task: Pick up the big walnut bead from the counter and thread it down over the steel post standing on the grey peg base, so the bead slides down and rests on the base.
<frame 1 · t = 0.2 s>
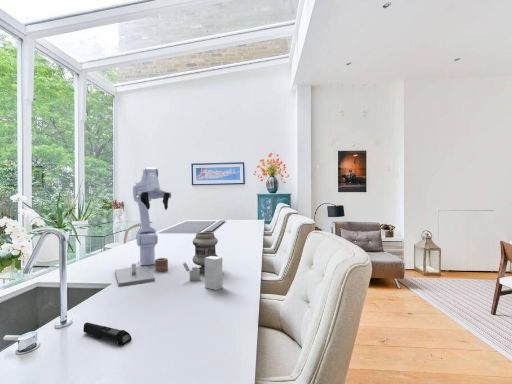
hand: (157, 208, 131), 31 cm above the worktop, tool tilted 45°, fingers open, 7 cm apart
walnut bead: (161, 269, 143), on the worktop
electric trimmer: (106, 339, 79), on the worktop
lighter: (191, 280, 128), on the worktop
skincare box: (213, 288, 118), on the worktop
grey peg base: (133, 276, 133), on the worktop
apothecary jar: (205, 271, 142), on the worktop
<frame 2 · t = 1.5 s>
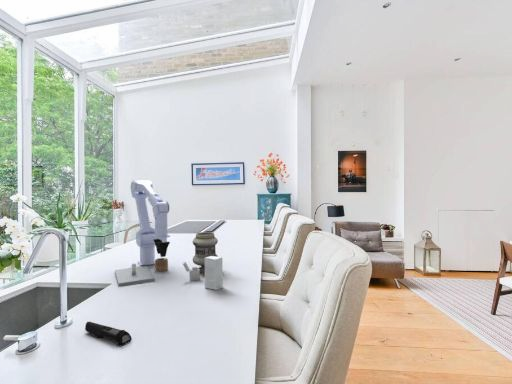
hand: (161, 254, 143), 7 cm above the worktop, tool pointing down, fingers open, 7 cm apart
nothing on the worktop moved.
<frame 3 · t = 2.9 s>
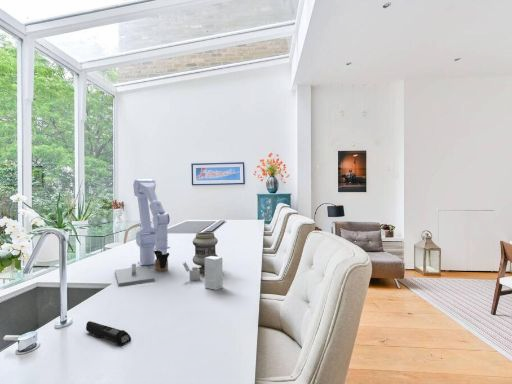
hand: (161, 266, 143), 2 cm above the worktop, tool pointing down, fingers closed on walnut bead, 5 cm apart
walnut bead: (161, 269, 143), on the worktop, touching gripper
everything else where it was.
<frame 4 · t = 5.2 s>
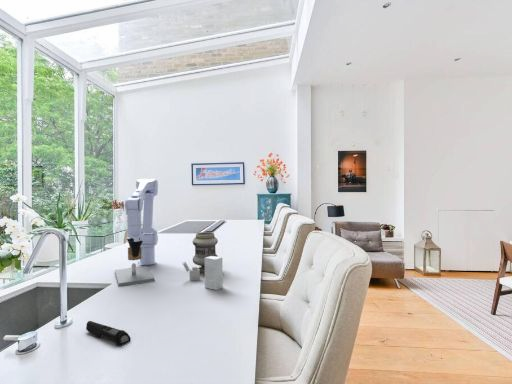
hand: (134, 255, 133), 9 cm above the worktop, tool pointing down, fingers closed on walnut bead, 5 cm apart
walnut bead: (134, 258, 133), point 8 cm above the worktop, touching gripper
everything else where it was.
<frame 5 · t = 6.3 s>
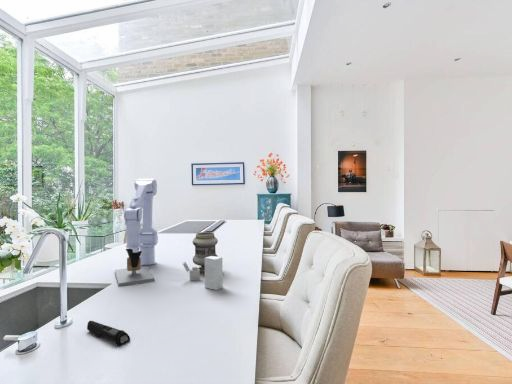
hand: (133, 265, 133), 5 cm above the worktop, tool pointing down, fingers closed on walnut bead, 5 cm apart
walnut bead: (133, 269, 133), point 3 cm above the worktop, touching gripper
everything else where it was.
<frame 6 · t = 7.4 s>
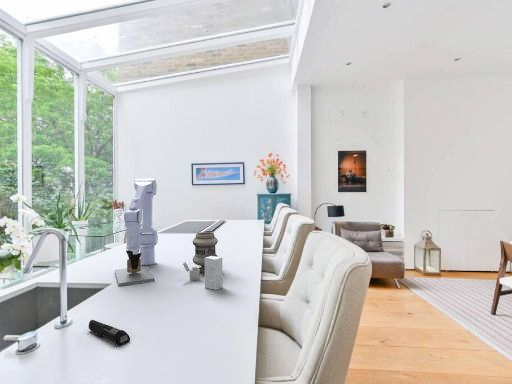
hand: (133, 267, 133), 4 cm above the worktop, tool pointing down, fingers closed on walnut bead, 5 cm apart
walnut bead: (133, 270, 133), point 2 cm above the worktop, touching gripper
everything else where it was.
when the fingers open (4 cm above the worktop, at t = 7.5 s): walnut bead drops 1 cm, resting on grey peg base.
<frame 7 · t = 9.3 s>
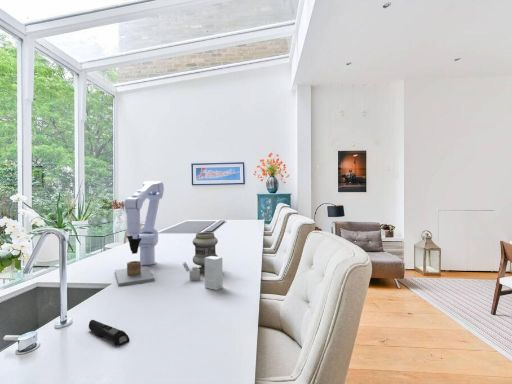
hand: (133, 251, 140), 9 cm above the worktop, tool pointing down, fingers open, 7 cm apart
walnut bead: (133, 273, 133), point 1 cm above the worktop, touching grey peg base
everything else where it was.
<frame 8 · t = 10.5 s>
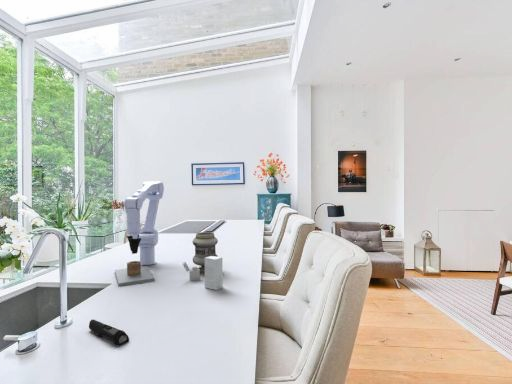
hand: (133, 251, 140), 9 cm above the worktop, tool pointing down, fingers open, 7 cm apart
nothing on the worktop moved.
at the end: walnut bead 0.1 cm from the grey peg base (horizontally); walnut bead point 1.2 cm above the worktop; the gripper is holding nothing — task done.
